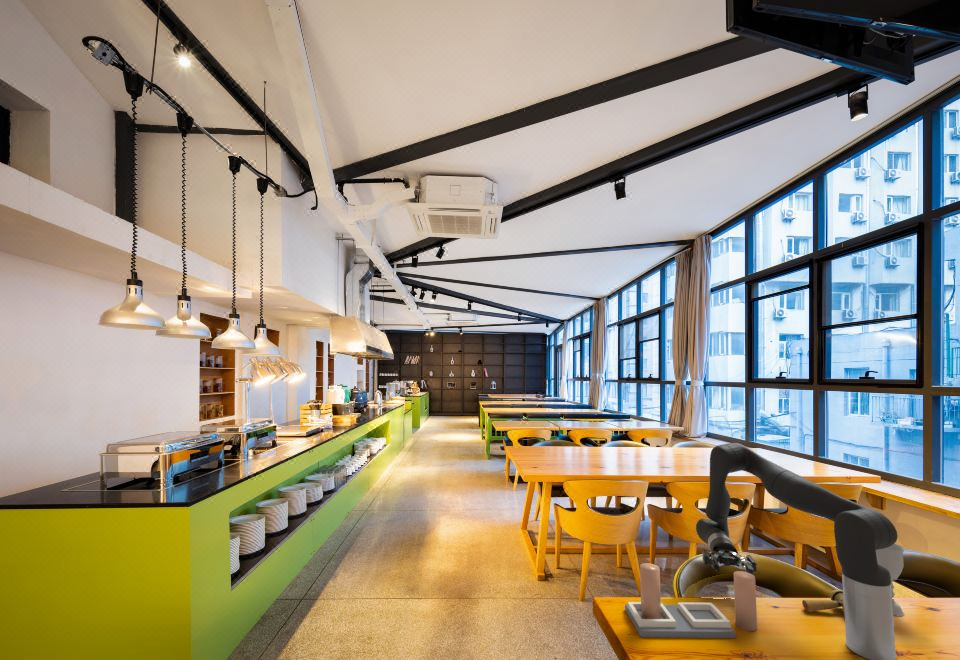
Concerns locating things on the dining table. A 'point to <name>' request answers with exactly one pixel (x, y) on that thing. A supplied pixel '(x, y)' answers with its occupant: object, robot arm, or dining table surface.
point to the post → (745, 601)
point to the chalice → (892, 568)
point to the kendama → (825, 602)
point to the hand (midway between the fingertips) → (734, 570)
